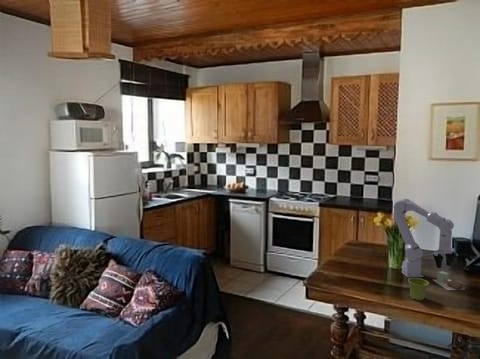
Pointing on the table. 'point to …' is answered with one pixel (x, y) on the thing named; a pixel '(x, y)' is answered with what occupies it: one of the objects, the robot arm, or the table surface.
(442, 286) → the board
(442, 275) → the sage block
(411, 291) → the plant pot
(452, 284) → the walnut block
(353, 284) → the table surface
